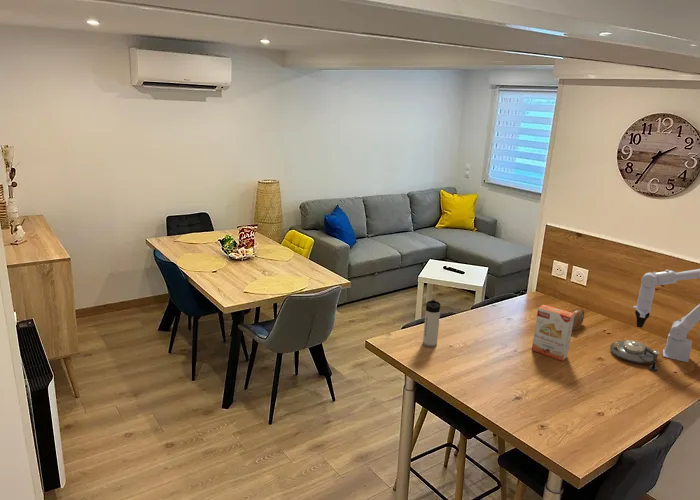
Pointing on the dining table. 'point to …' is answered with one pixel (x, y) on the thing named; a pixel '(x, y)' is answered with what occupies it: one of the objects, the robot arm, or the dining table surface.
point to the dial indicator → (655, 353)
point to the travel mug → (431, 323)
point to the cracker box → (553, 332)
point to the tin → (578, 318)
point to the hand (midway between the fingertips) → (639, 326)
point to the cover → (633, 347)
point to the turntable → (620, 352)
